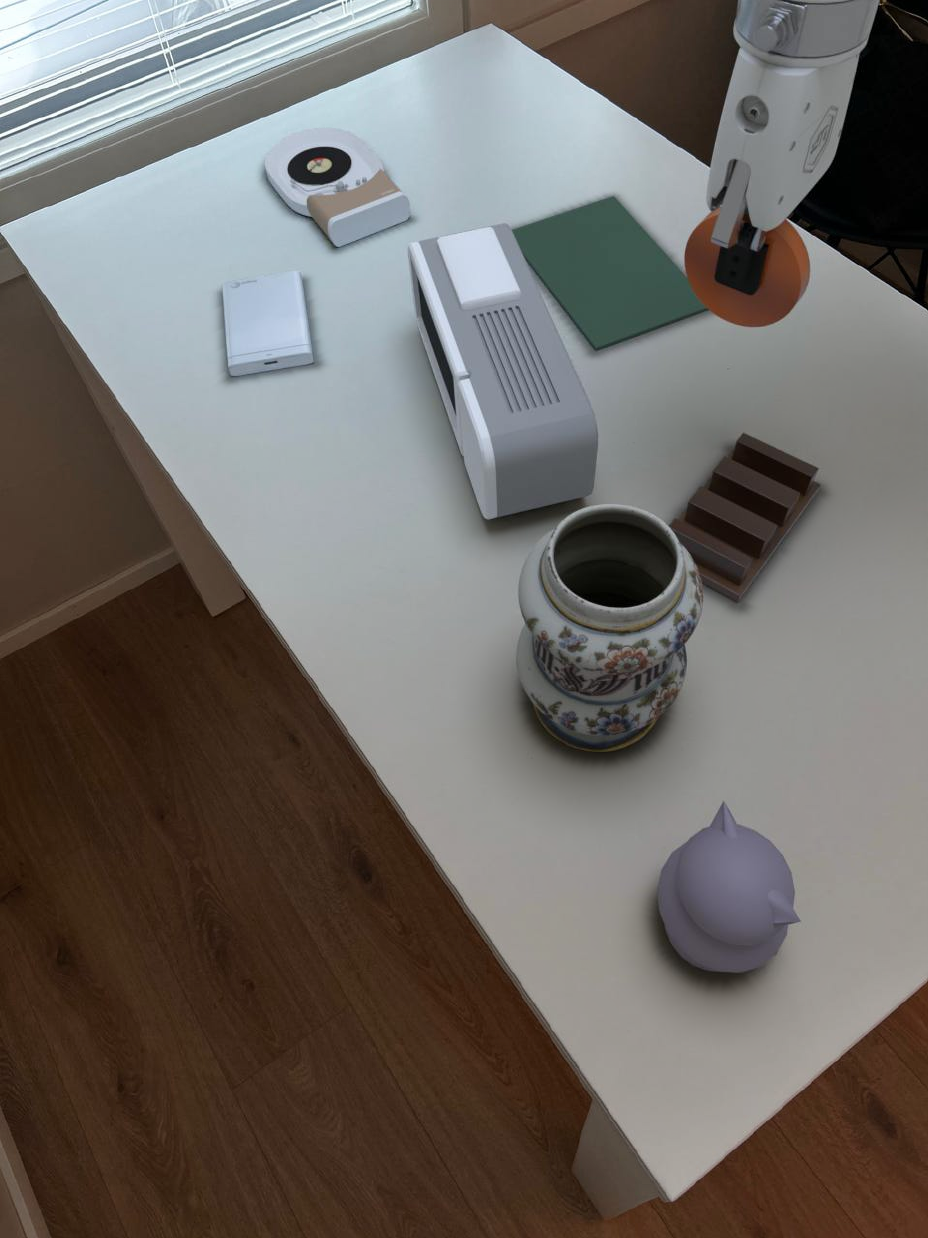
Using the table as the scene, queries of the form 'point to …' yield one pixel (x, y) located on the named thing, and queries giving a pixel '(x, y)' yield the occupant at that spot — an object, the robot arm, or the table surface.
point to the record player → (336, 183)
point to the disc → (777, 284)
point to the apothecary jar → (606, 625)
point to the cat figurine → (726, 897)
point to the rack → (744, 513)
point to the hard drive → (266, 323)
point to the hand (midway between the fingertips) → (743, 276)
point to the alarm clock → (502, 372)
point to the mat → (607, 272)
